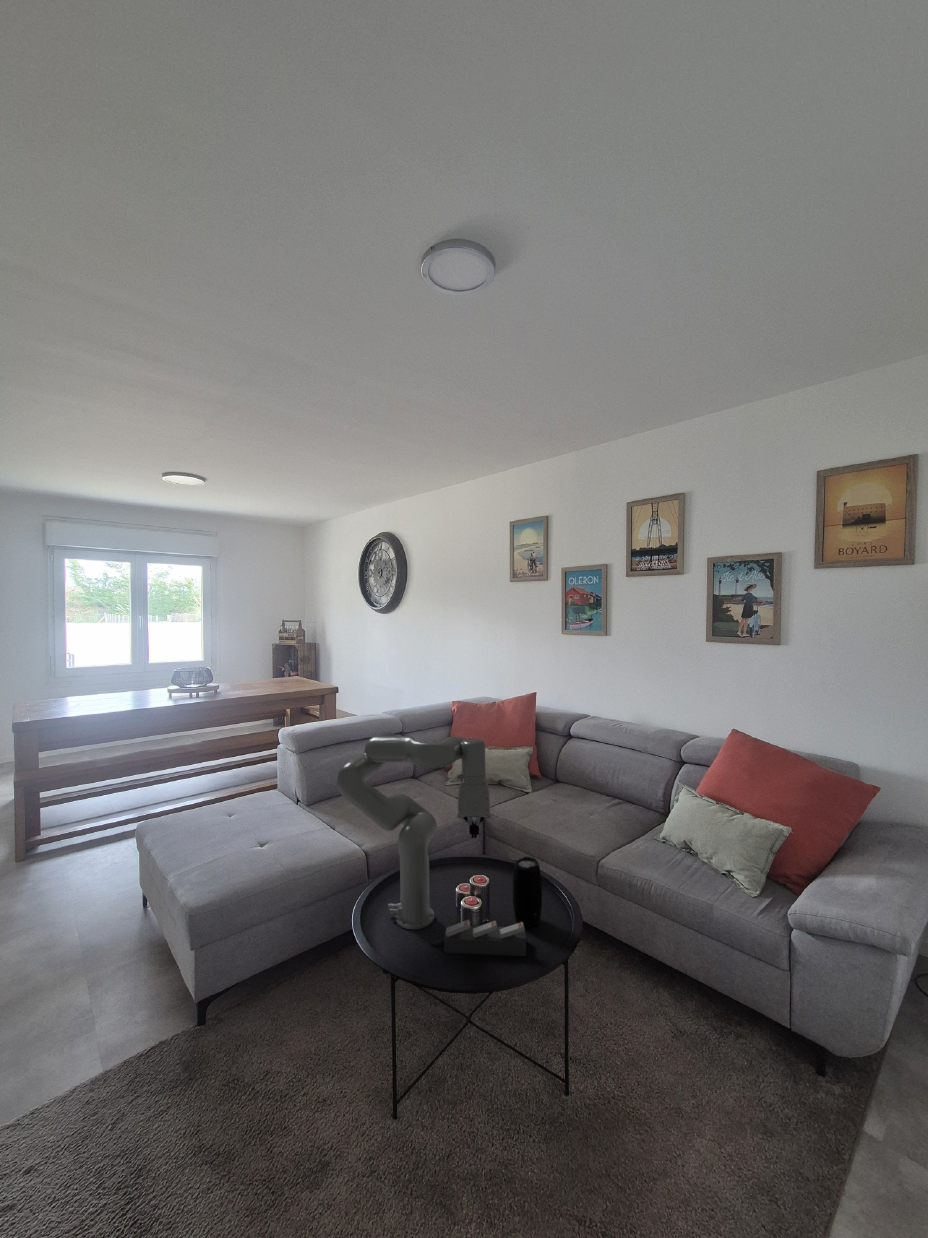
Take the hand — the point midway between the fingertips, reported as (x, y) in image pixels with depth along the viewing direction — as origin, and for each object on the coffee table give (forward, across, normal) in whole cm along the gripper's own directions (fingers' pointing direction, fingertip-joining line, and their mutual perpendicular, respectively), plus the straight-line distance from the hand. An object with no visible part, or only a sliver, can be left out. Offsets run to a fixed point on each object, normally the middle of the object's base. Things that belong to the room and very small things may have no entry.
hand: (474, 836), depth 159 cm
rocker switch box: (+29, +2, -9) cm, 30 cm away
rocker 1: (+23, -4, -11) cm, 26 cm away
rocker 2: (+23, +4, -11) cm, 25 cm away
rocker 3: (+23, +12, -11) cm, 28 cm away
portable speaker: (+29, +17, +4) cm, 34 cm away
